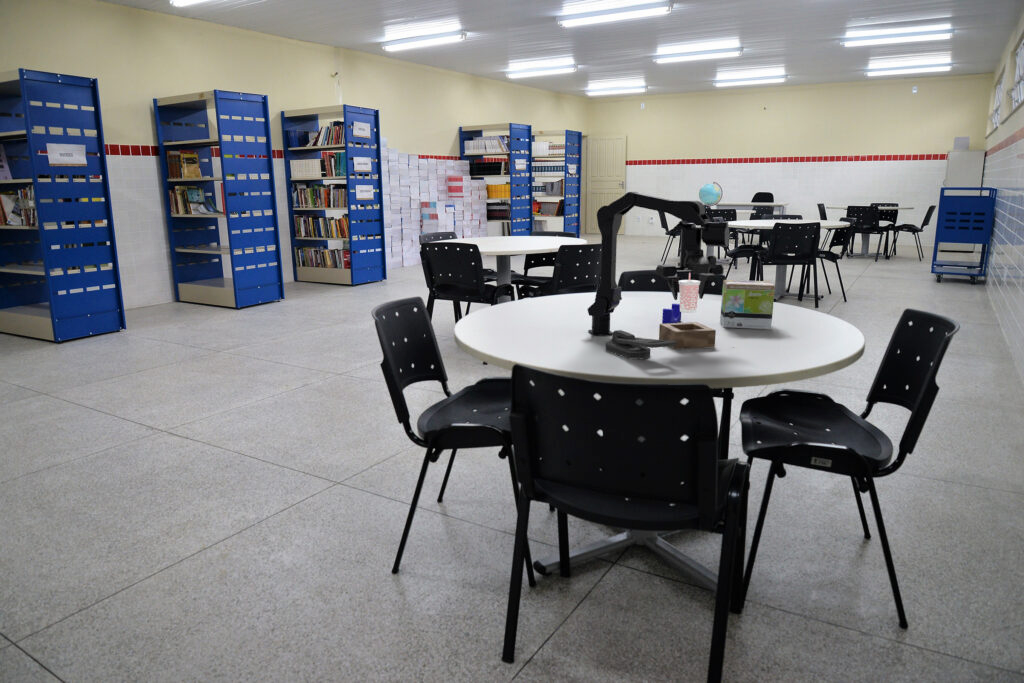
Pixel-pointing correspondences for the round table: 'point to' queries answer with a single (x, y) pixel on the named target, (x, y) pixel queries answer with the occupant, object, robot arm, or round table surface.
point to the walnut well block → (688, 335)
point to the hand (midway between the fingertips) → (688, 299)
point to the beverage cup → (688, 295)
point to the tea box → (747, 304)
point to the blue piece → (671, 314)
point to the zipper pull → (633, 345)
